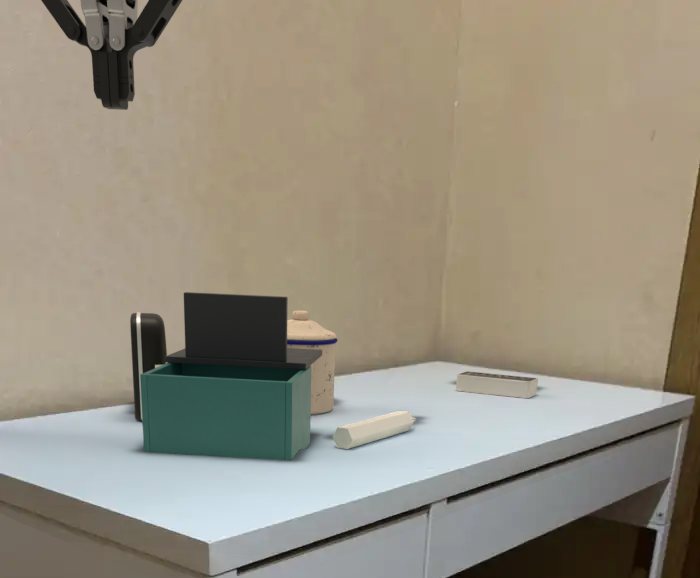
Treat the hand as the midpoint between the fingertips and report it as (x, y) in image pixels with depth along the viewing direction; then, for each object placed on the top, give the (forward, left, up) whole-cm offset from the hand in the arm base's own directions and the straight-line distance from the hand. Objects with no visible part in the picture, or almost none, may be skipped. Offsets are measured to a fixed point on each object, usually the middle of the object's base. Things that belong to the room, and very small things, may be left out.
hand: (114, 108), depth 74 cm
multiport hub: (+35, +58, -29) cm, 73 cm away
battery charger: (-6, +25, -29) cm, 39 cm away
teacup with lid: (+10, +34, -29) cm, 46 cm away
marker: (+21, +21, -29) cm, 42 cm away
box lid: (+7, +17, -21) cm, 28 cm away
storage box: (+7, +9, -29) cm, 31 cm away
